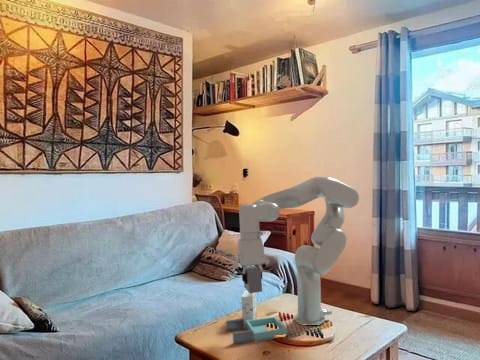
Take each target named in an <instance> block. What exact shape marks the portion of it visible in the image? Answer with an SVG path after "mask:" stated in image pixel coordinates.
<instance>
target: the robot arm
mask: <svg viewBox="0 0 480 360" xmlns="http://www.w3.org/2000/svg"><path fill="white" fill-rule="evenodd" d="M318 198H323V199H324V202H325V208H326V209H325V213H324V215H323V216H322V219H321V220H320V221H319V223H318V224H317V225H316V227H315V228H314V230H313V231H312V233H311V237H310V238H311V242H312V244H313V245H315V246H311V245H309V244H308V245H307V244H306V245H305V244H304V245H301V246H299V247H298V248H297V249H296V250H295V253H294V263H295V264H294V265H295V267H296V268H295V269H296V276H297V277H296V278H297V281H296V282H297V284H296V285H297V314H295V315H294V317H293V318H294V319H295V320H296V321H297V322H299V323H302V324H307V325H318V326H320V324H321V325H323V324H324V323H325V320H326V316H330V315H332V314H333V313H332V310H331V309H326V308H322V307H321V306H322V303H321V301H322V299H321V298H322V295H321V294H322V293H321V291H322V290H321V275H325V274H326V273H328V272H329V271H331V269H332V268H333V266H335V264H336V262H337V260H338V259H339V258H340V256H341V254H342V253H343V251H344V250H345V248H346V244H347V236H346V233H345V232H344V231H343V230H342V229H341V228H342V226H343V224H344V222H345V213H344V212H345V210H344V209H345V208H346V209H352V208H355V206H357V205H358V203H359V201H360V195H359V193H358V190H356V189H355V188H353V187H352V186H350V185H348V184H345V183H344V182H342V181H340V180H338V179H335V178H334V177H333V178H332V177H327V176H315V177H314V176H313V177H311V178H310V179H307V180H305V181H303V182H300V183H299V184H297V185H294V186H292V187H289V188H285V189H283V190H279V191H276V192H273V193H270V194H267V195H265V196H262V197H261V198H258V199H257V200H255V201H253V202H252V203H242V204H240V205H239V206H238V207H239V208H238V212H239V213H238V216H239V233H240V239H238V241H237V256H236V257H237V258H236V260H235V261H234V262H233V263H232V267H233V268H235V269H236V270H238V271H239V272H240V273H241V279H242V282H243V284H244V283H245V284H247V274H246V268H247V267H248V266H256V267H257V268H258V269H259V270H260V271H261V280H262V279H263V272H264V269H265V268H266V267H267V266H268V264H270V263H271V261H270V259H269V258H268V257H267V256H266V255H265V249H264V243H263V240H262V238H261V236H264V231H261V230H260V222H268V223H269V222H274V221H276V220H277V219H278V218H279V216H280V214H281V213H280V212H281V210H285V209H296V208H300V207H303V206H304V205H306V204H308V203H310V202H312V201H314V200H317V199H318ZM239 265H240V266H239ZM295 320H294V321H295ZM297 322H296V323H297ZM322 323H323V324H322Z"/></svg>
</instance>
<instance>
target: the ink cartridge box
mask: <svg viewBox="0 0 480 360" xmlns="http://www.w3.org/2000/svg"><path fill="white" fill-rule="evenodd" d="M241 314H242V315H241V316H242V318H241V319H244V325H245V320H252V319H257V292H256V293H249V292H248V291H247V290H246V289H245V290H244V292H243V293H242V295H241Z"/></svg>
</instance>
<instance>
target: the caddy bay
mask: <svg viewBox="0 0 480 360" xmlns="http://www.w3.org/2000/svg"><path fill="white" fill-rule="evenodd" d="M225 324H226V329H225V330H226V332H232V344H233V345H238V344H245V343H251V342H253V338H252V331H251V330H249V331H247V330H245V324H244V319H242V318H237V319H229V320H226V321H225Z"/></svg>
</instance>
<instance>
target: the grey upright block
mask: <svg viewBox="0 0 480 360" xmlns="http://www.w3.org/2000/svg"><path fill="white" fill-rule="evenodd" d="M246 274H247V284H245V283H244V282H243V285H244V287H243V288H245V290H247V291H248V292H249V293H256V294H257V293H261V292H263V283H262V282H263V281H262V279H261V271H260V270H259V269H258V267H257V265H252V266H247V268H246Z"/></svg>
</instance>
